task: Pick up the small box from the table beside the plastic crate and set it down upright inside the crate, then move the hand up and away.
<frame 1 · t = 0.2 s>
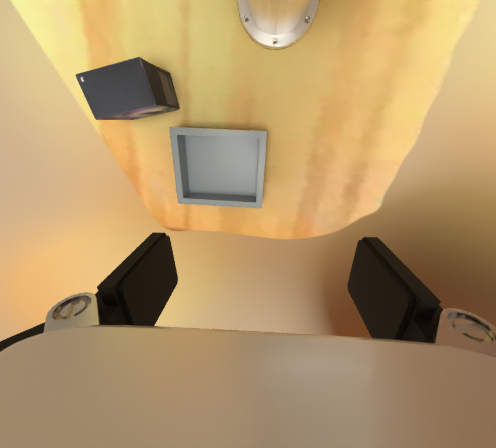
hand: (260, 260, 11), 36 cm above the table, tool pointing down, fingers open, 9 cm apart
small box: (150, 98, 40), on the table
crate: (223, 165, 45), on the table
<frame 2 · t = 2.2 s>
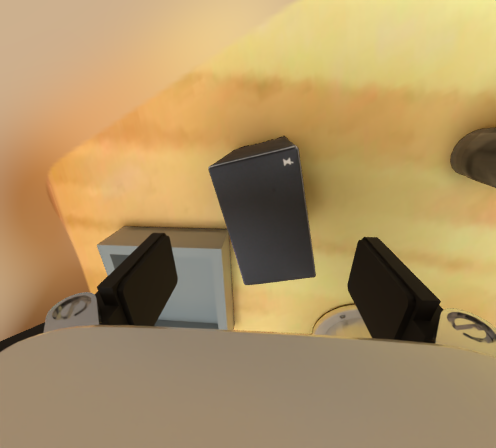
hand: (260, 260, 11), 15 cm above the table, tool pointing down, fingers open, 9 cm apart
beverage cup: (473, 152, 22), on the table
small box: (267, 188, 25), on the table
crate: (184, 280, 31), on the table
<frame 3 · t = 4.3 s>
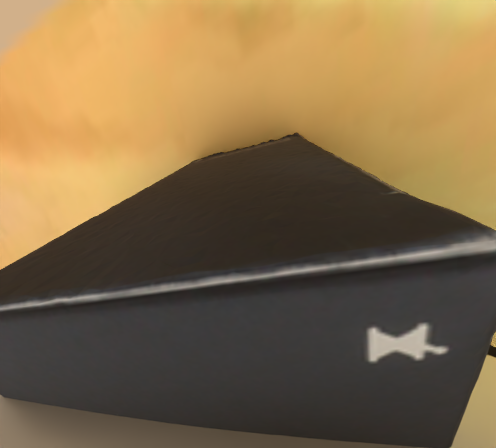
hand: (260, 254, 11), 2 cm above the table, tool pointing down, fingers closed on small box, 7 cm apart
small box: (261, 231, 13), on the table, touching gripper
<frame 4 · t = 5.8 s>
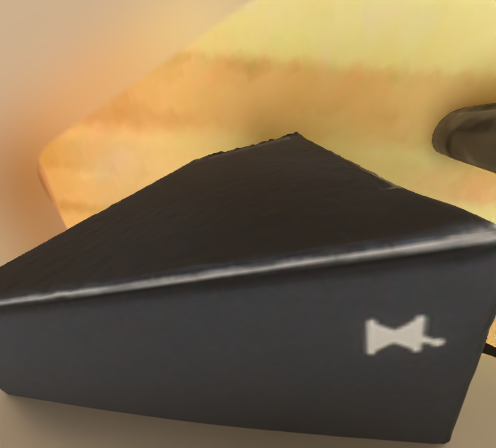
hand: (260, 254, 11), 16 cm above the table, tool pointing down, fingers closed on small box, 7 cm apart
beverage cup: (454, 132, 23), on the table
small box: (261, 230, 13), point 14 cm above the table, touching gripper
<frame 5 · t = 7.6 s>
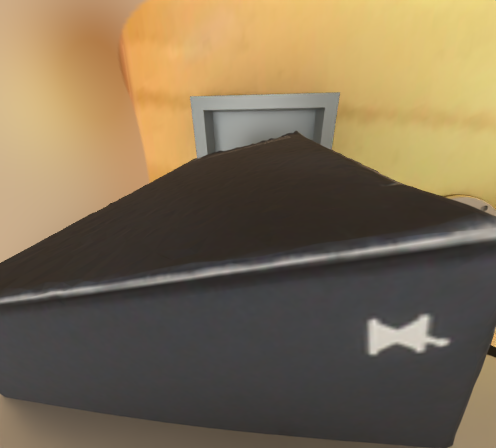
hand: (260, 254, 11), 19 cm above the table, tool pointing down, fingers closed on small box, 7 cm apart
small box: (261, 230, 13), point 17 cm above the table, touching gripper
crate: (262, 173, 29), on the table
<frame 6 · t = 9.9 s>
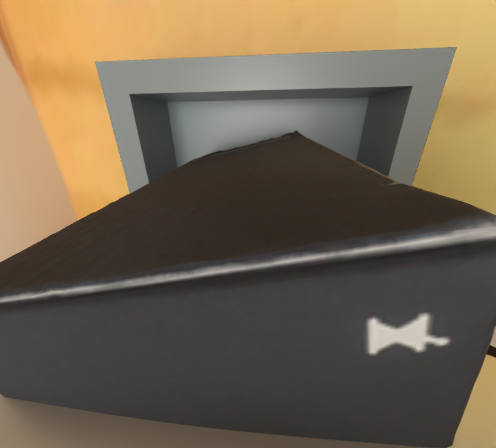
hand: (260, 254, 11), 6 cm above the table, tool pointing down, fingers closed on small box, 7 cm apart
small box: (261, 230, 13), point 4 cm above the table, touching gripper
crate: (262, 210, 17), on the table
when the fingers open (6 cm above the table, at t = 11.0 s): small box drops 2 cm, resting on crate.
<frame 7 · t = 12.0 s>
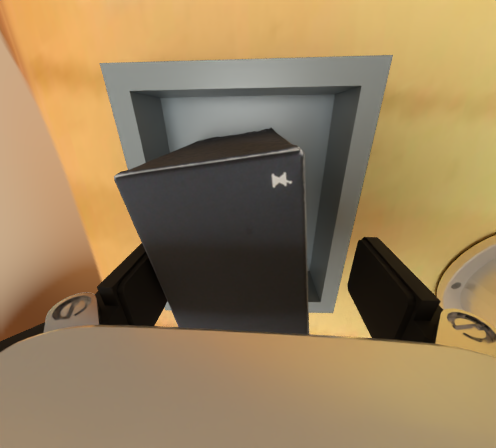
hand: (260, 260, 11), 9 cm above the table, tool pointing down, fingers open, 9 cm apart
small box: (243, 200, 18), point 1 cm above the table, touching crate, gripper
crate: (248, 195, 19), on the table
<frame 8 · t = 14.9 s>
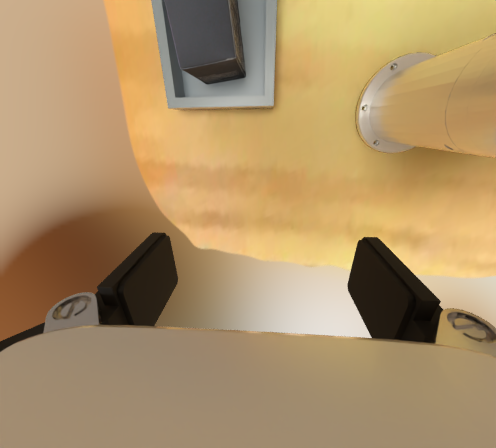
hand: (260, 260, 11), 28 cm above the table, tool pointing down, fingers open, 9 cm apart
small box: (218, 36, 28), point 1 cm above the table, touching crate
crate: (222, 37, 29), on the table
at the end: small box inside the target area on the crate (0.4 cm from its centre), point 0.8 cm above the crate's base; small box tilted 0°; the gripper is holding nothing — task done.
